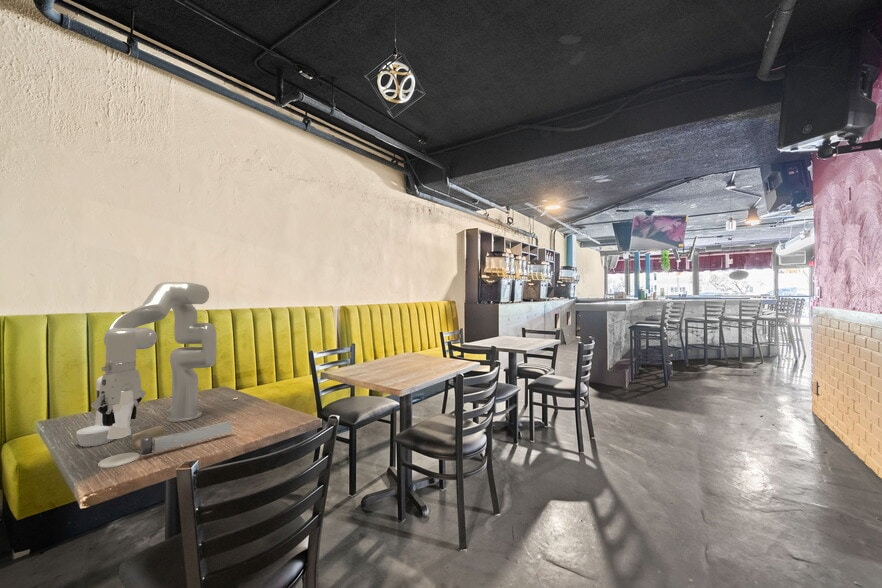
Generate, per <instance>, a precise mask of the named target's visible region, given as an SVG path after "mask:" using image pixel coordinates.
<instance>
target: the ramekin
mask: <svg viewBox="0 0 882 588" xmlns="http://www.w3.org/2000/svg"><path fill="white" fill-rule="evenodd" d="M108 431H109V426H103V424H100V425H95V424H94V425H89V426H87V427H83V428H81V429H79V430H77V431H76V432H75V435H76V437H77V440H78V445H79V446H81V447H82V446H83V447H82V448H89V447H90V446H93V447H99V446H103V445H106V444H109V443H111V442H112V441H113V440H114V439H107V435H108ZM110 441H111V442H110ZM108 442H109V443H108ZM102 444H103V445H102ZM90 448H91V447H90Z"/></svg>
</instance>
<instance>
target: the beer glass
mask: <svg viewBox="0 0 882 588" xmlns="http://www.w3.org/2000/svg"><path fill="white" fill-rule="evenodd" d="M133 407H134V399H133V389H132V390H129V391H123V392H121V397H120V403H119V404H116V405H112V411H111V413H112V414H113V425H112V426H109V431H108V435H107V439H113V440H118V439H124V438H127V437H129V436H131V435H133V434H132V433H133V432H132V428H131V420H132V419H131V416H132V412H133ZM107 408H108V405H107Z"/></svg>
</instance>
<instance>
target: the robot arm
mask: <svg viewBox="0 0 882 588" xmlns="http://www.w3.org/2000/svg"><path fill="white" fill-rule="evenodd" d="M209 299H210V291H209V289H208V288H207V286H205V285H204V284H198V283H194V282H186V281H185V282H183V281H180V282H179V281H178V282H175V281H172V282H171V281H164V282H160V283H158V284H157V285H156V286H155V287H154V289H153V290H152V291H151V292H150V294H149V295H148V296H147V298H146V299H145V301H144V302H143V304H142V305H139V306H137V307H135V308H134V309H131V310H129V311H127V312H126V313H123V314H121V315H120V316H118V317H117V318H116V319H114V321H113V322H112V323H111V325H110V326H109V328H108V329H107V330H106V332H105V334H104V335H103V336H104V337H103V343H104V346H105V364H104V366H102V367H101V371H102V372H104V373H103V374H102V375H103V377H102V380H101V385H100V393H99V397H98V398H97V399H95V400H94V401H93V402H91V404H90V406H91V407H92V408H93V409H95V411H96V410H97V411H99V412H100V413H101V414H102V423H103V426H112V425H113V414H112V413H111V411H112V405H116V404H119V403H120V397H121V392H123V391H129V390H132V389H133V399H134V407H133V412H132V416H131V420H135V419H137V408H138V406H139V403H141V401H142V400H143V398H144V397H145V396H146V393H147V392H146V391H145V390H143V389H142V380H141V375H140V371H139V369H136V368H137V367H136V366H137V364H136V363H137V362H136V361H137V350H148V349H150V348H152V347H153V346H154V345H155V344H157V341H158V333H157V332H156V331H155V330H154V329H152V328H149V327H141V326H144V325H148V324H152V323H156V322H159V321H162V320H163V319H165V318H166V317H167V316H168V314H169V313H170V311H171V309H172V311H173V315H174V317H173V319H174V325H173V326H174V332H173V335H174V340H175V342H176V343H177V344H179V345H201V346H180V347H177V348H174V349H173V350H172V351H171V353H170V354H169V363H170V368H171V378H172V379H171V383H172V384H171V406H170V407H169V409H168V408H167V409H166V412H167V413H170V414H169V415H168V417H166V418H167V421H168V422H170V423H182V422H187V421H192V420H196V419H198V418H200V417H201V416H202V411H199V410H198V409H199V408H198V406H199V405H198V403H199V401H198V399H199V377H198V374H197V372H196V371H195V369H206V368H207V369H208V368H212V367H213V366H214V365H215V363H216V360H217V329H216V327H215V325H214V324H212V323H210V322H198V311H197V309H196V307H195V306H194V305H203V304H206V303H207V302H208V300H209ZM100 404H104V405H103V407H102V406H101V405H100ZM107 405H108V408H107Z"/></svg>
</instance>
